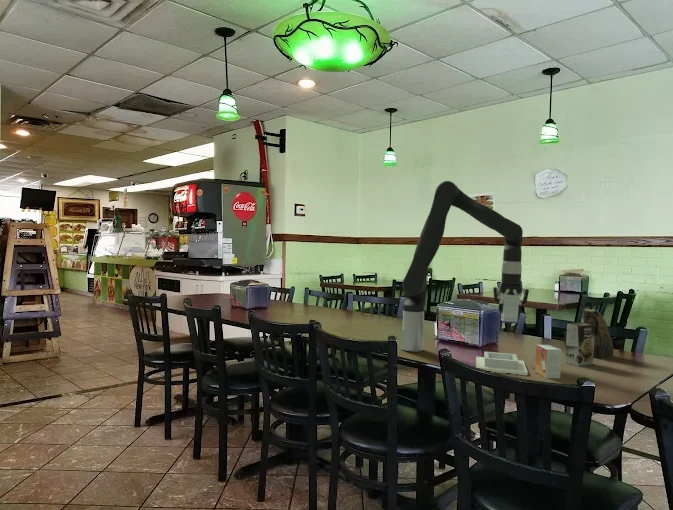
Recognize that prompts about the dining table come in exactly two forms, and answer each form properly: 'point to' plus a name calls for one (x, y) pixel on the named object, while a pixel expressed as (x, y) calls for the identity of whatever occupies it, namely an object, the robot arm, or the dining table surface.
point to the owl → (599, 334)
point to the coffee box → (580, 344)
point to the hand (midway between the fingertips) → (509, 313)
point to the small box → (548, 361)
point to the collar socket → (501, 363)
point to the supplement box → (510, 309)
